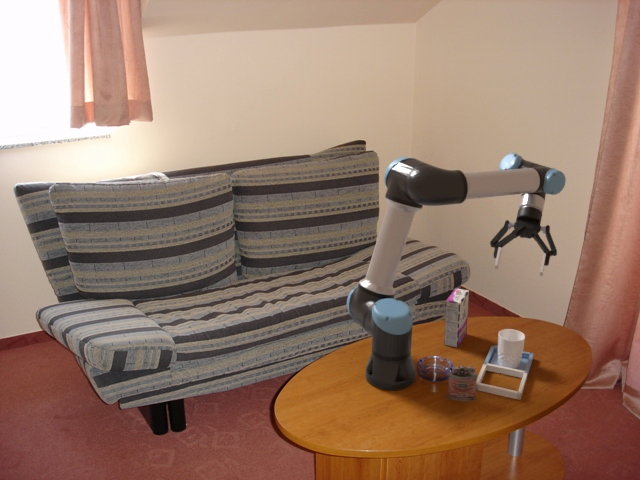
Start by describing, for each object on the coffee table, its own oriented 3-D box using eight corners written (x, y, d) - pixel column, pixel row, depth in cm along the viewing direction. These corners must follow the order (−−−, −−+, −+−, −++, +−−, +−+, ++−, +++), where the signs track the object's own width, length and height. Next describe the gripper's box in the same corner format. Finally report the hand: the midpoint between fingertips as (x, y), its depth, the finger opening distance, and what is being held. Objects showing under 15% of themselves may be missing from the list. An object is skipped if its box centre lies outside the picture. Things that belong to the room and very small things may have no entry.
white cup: (493, 356, 205) (495, 328, 201) (518, 357, 204) (521, 328, 201) (498, 370, 197) (501, 340, 194) (524, 370, 197) (528, 341, 193)
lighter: (447, 399, 183) (449, 368, 180) (446, 393, 186) (448, 362, 183) (476, 401, 182) (478, 370, 179) (475, 395, 185) (477, 364, 182)
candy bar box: (452, 331, 222) (455, 287, 216) (466, 334, 220) (470, 290, 214) (442, 345, 213) (445, 300, 207) (457, 348, 210) (460, 303, 205)
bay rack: (474, 389, 188) (474, 383, 187) (491, 350, 209) (491, 345, 208) (520, 400, 182) (521, 393, 182) (532, 358, 204) (533, 353, 203)
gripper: (571, 221, 206) (560, 281, 198) (492, 212, 216) (479, 269, 208) (571, 210, 200) (560, 271, 192) (490, 201, 210) (476, 259, 202)
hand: (518, 270), depth 200 cm, fingers open, 13 cm apart
